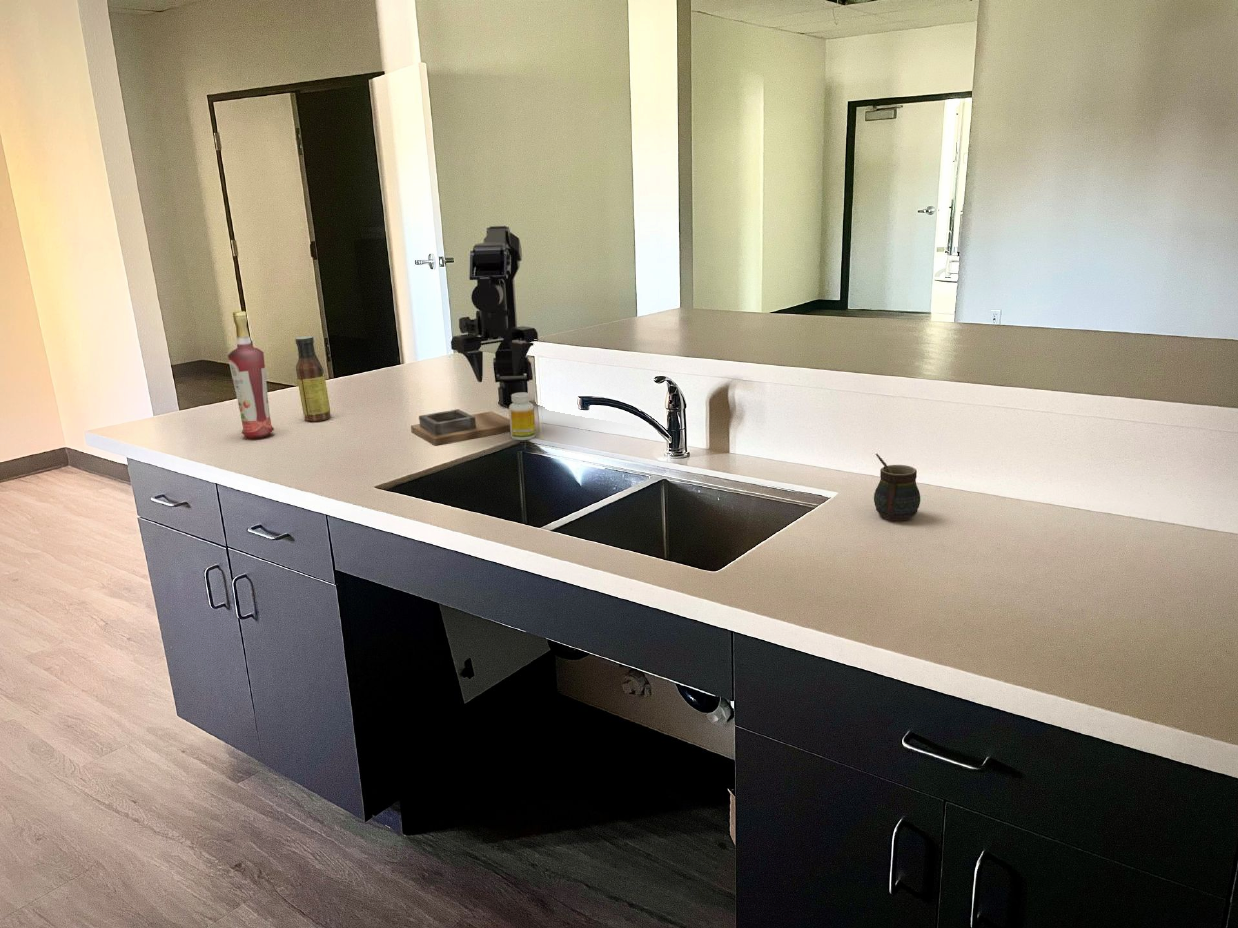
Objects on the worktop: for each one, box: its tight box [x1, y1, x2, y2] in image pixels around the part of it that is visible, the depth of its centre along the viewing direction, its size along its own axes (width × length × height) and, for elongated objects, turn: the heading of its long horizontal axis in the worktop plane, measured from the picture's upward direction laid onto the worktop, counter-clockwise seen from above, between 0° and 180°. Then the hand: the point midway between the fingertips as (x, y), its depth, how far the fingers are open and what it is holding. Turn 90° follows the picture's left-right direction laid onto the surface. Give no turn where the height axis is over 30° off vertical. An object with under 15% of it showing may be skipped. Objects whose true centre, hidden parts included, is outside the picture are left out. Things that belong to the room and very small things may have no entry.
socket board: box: [410, 408, 511, 447], centre depth 202 cm, size 20×14×4 cm
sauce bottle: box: [294, 335, 331, 422], centre depth 214 cm, size 6×6×20 cm
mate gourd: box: [873, 453, 921, 522], centre depth 144 cm, size 7×8×10 cm
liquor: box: [227, 310, 275, 440], centre depth 200 cm, size 7×7×28 cm
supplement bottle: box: [508, 392, 536, 441], centre depth 195 cm, size 5×5×10 cm
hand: (498, 378), depth 195 cm, fingers open, 9 cm apart
